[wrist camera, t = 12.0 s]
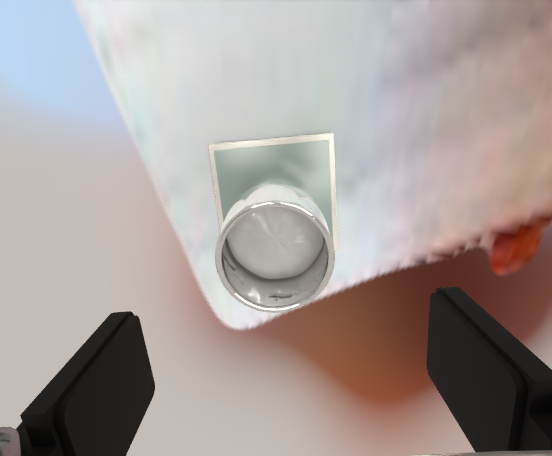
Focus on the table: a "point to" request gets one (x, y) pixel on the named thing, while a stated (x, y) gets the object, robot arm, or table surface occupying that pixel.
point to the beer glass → (275, 246)
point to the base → (277, 157)
